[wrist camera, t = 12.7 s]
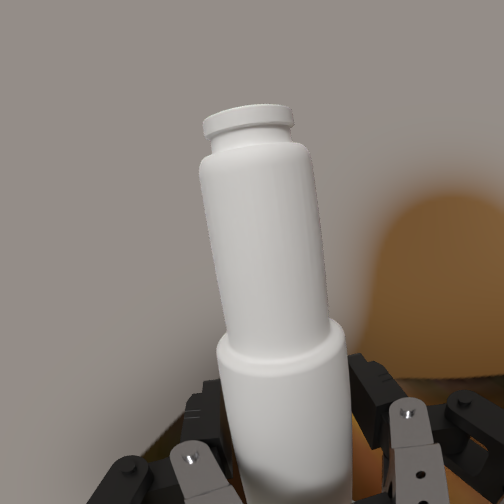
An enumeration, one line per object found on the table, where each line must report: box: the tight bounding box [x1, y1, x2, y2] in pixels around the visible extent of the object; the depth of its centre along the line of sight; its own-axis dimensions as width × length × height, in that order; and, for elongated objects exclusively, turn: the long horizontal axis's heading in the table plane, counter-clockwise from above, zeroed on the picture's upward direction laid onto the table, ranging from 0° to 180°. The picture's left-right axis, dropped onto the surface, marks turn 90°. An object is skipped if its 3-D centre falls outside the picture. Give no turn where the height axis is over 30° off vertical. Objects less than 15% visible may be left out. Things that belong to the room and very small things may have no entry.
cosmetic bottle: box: [199, 104, 352, 504], centre depth 10 cm, size 6×6×22 cm
